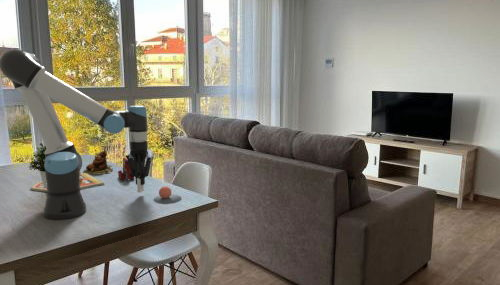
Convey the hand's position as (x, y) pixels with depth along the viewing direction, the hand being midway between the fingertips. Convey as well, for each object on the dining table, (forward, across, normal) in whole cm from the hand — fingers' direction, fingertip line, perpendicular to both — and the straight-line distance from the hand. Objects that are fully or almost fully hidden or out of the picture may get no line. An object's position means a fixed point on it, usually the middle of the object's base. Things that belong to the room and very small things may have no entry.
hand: (140, 191), depth 171 cm
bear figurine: (+2, +46, -28) cm, 54 cm away
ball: (-1, -12, 0) cm, 13 cm away
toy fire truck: (+2, +23, -21) cm, 31 cm away
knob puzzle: (+3, +45, -2) cm, 45 cm away
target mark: (+2, -14, 0) cm, 14 cm away
